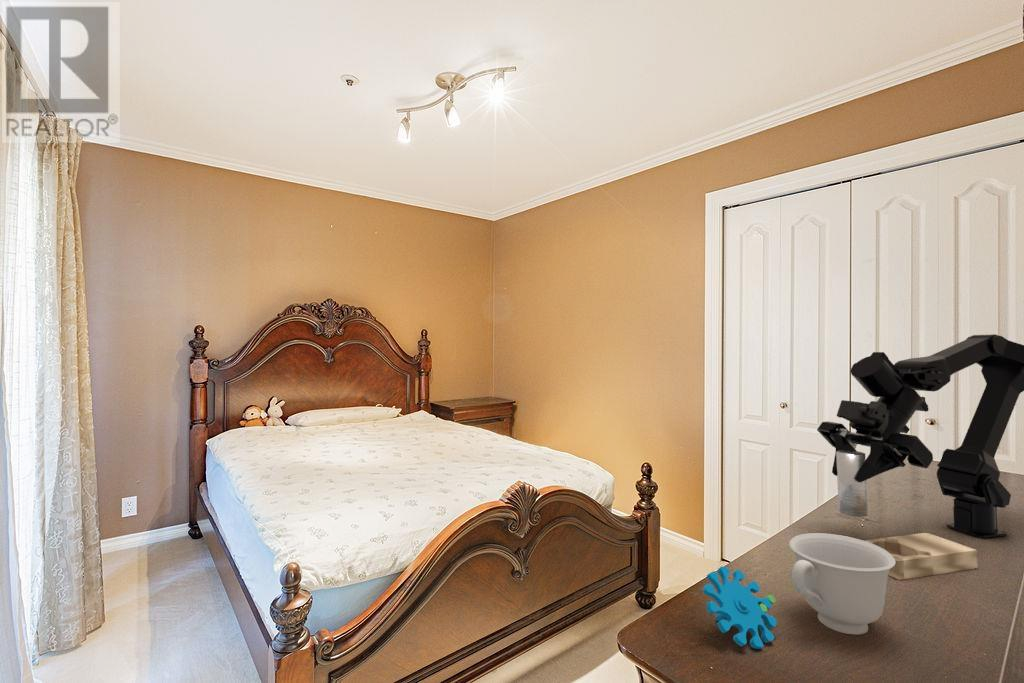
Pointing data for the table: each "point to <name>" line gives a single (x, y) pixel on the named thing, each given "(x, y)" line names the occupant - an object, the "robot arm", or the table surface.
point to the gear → (740, 607)
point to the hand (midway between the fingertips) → (845, 477)
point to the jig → (926, 555)
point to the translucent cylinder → (851, 484)
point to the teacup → (841, 579)
